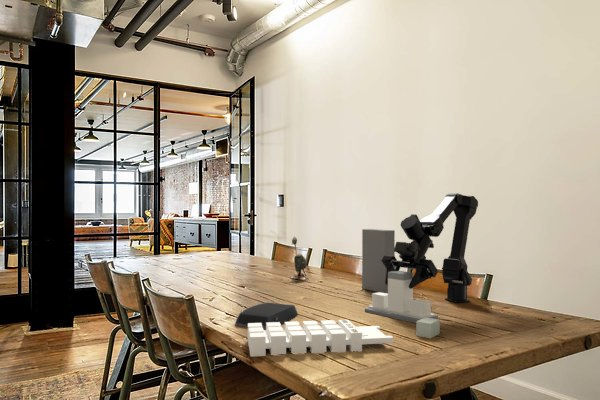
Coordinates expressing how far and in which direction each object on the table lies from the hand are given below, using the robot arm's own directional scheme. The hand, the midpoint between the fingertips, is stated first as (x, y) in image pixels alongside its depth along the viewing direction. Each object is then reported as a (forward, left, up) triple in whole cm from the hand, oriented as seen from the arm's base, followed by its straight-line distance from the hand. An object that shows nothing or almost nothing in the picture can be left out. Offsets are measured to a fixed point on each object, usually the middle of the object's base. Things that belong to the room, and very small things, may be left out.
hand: (397, 286), depth 151 cm
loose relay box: (+6, +22, -10) cm, 24 cm away
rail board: (-1, 0, -9) cm, 9 cm away
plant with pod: (-2, -80, -10) cm, 81 cm away
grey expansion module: (-1, 0, -8) cm, 8 cm away
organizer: (+37, +18, -10) cm, 42 cm away
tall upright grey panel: (-19, -39, -10) cm, 45 cm away
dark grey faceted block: (+40, -11, -10) cm, 43 cm away
